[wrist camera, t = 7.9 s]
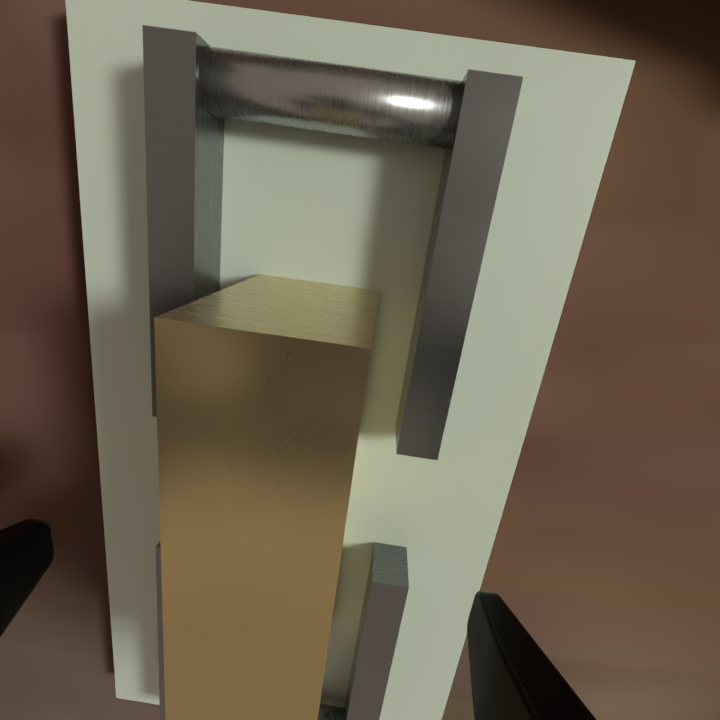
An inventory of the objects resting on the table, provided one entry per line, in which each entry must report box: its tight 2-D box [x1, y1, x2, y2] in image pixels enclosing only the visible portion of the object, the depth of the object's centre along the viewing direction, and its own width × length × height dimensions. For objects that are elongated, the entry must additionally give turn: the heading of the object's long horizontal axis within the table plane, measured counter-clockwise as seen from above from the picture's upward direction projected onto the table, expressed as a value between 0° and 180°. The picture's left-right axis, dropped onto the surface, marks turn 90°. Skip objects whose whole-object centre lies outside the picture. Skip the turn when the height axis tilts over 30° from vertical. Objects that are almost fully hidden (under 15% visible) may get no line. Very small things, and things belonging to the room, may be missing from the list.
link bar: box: [154, 274, 379, 720], centre depth 10 cm, size 3×11×5 cm, turn 173°
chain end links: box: [142, 25, 523, 720], centre depth 12 cm, size 7×20×2 cm, turn 172°
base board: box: [65, 0, 636, 720], centre depth 13 cm, size 12×22×1 cm, turn 172°
